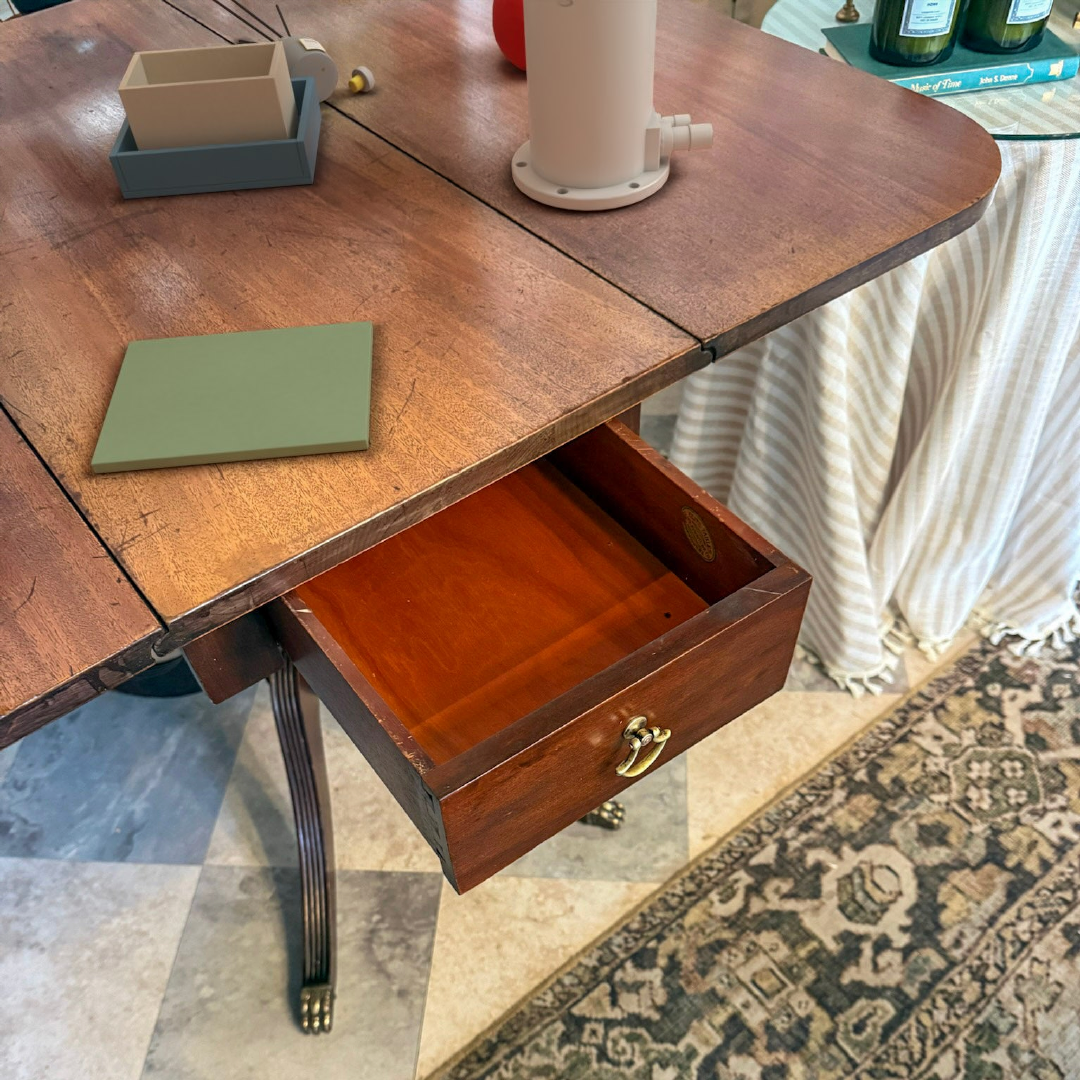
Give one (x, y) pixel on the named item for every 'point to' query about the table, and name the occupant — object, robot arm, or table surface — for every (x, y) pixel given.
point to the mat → (239, 397)
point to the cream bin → (209, 96)
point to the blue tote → (222, 159)
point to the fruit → (510, 30)
